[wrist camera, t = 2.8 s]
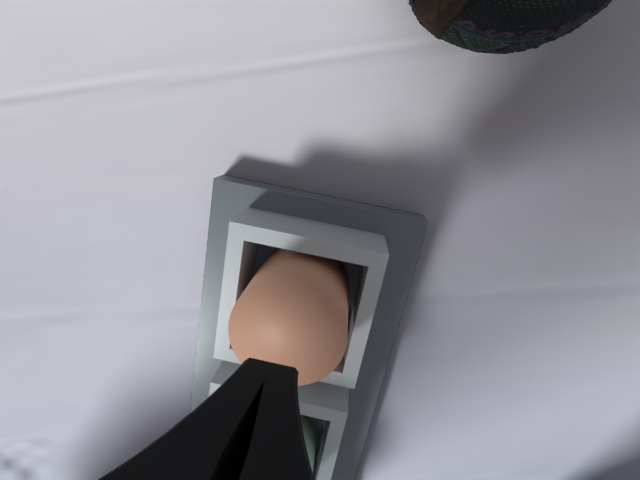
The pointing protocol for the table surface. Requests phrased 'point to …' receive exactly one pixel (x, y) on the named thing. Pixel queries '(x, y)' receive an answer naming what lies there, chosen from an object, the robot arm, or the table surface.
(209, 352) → the button panel
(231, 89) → the table surface
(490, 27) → the mate gourd
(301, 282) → the terracotta button
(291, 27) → the table surface
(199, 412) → the robot arm
